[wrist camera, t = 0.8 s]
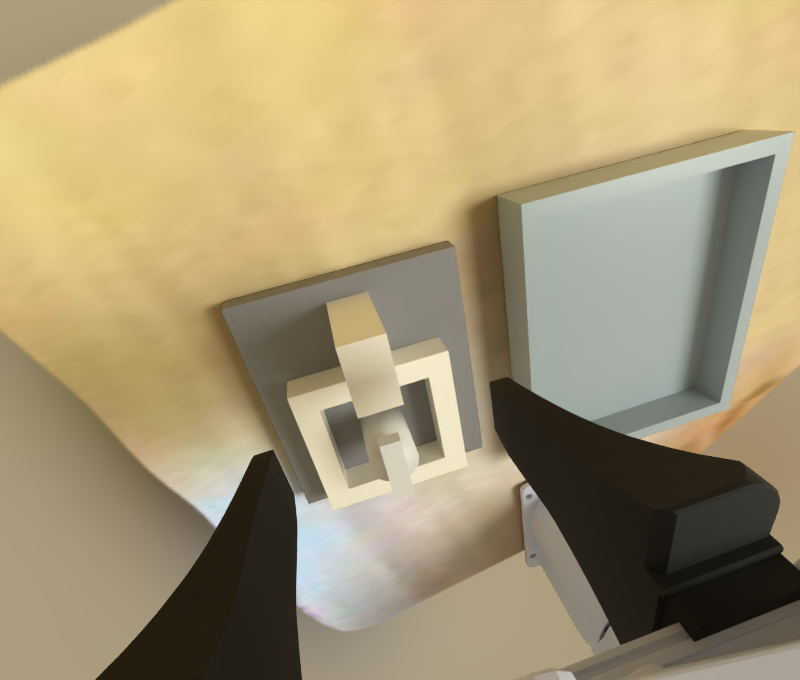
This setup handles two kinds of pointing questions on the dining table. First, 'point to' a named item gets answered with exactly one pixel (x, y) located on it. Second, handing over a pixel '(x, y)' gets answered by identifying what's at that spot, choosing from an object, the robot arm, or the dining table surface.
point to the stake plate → (315, 352)
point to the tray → (641, 279)
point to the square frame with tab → (374, 399)
